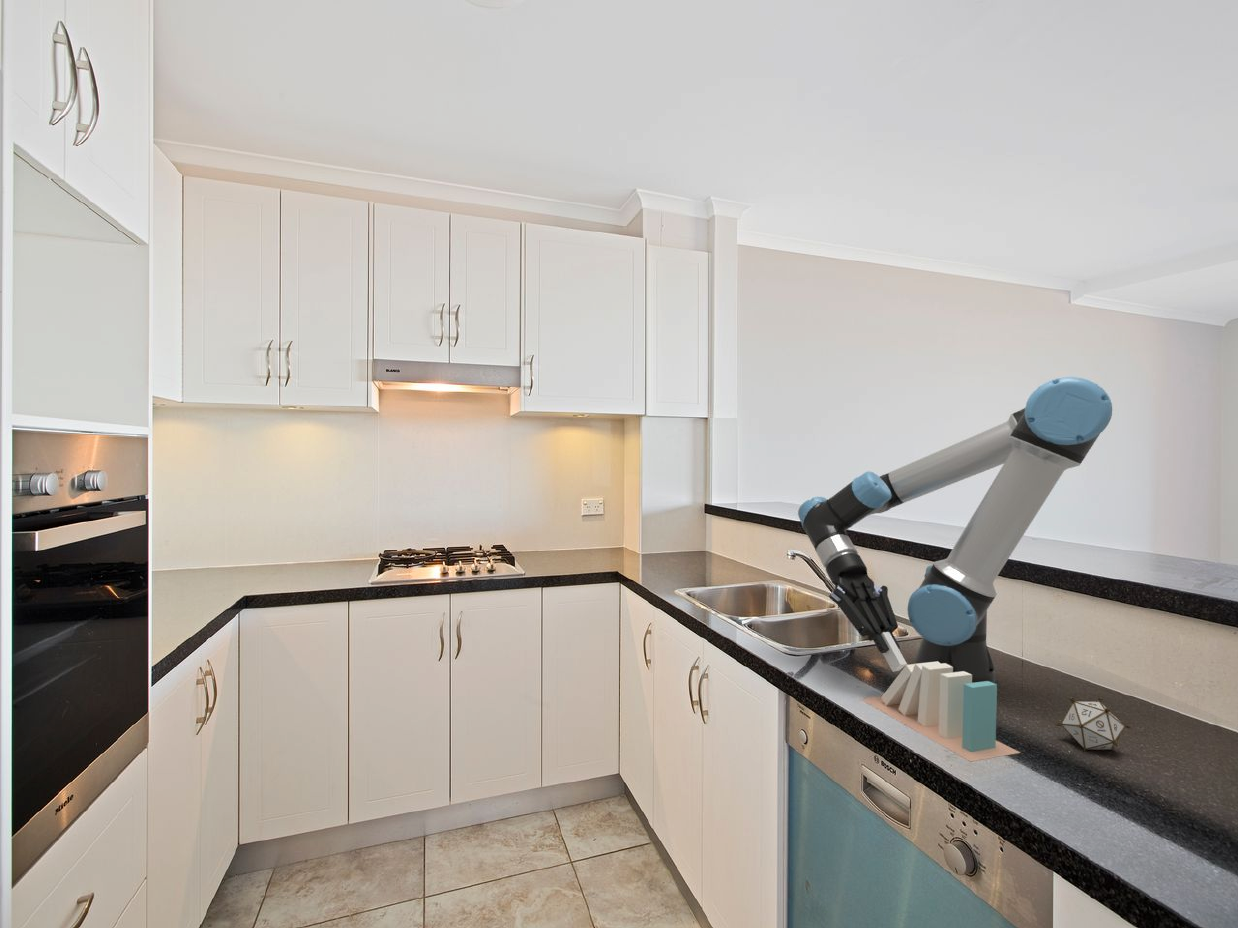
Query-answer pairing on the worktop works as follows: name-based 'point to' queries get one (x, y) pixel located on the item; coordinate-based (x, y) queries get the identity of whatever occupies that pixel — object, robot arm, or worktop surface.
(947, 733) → the domino
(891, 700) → the domino
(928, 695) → the domino
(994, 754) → the mat
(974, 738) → the domino
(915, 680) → the domino
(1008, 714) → the worktop surface
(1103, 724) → the game die
